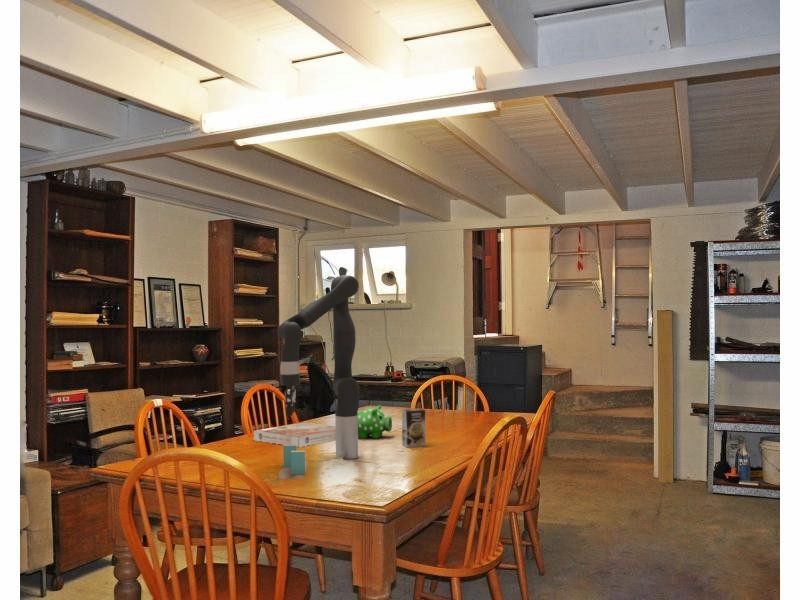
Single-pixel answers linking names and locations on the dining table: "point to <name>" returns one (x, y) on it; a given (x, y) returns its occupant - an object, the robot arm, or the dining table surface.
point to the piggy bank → (373, 423)
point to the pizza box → (297, 434)
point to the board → (289, 473)
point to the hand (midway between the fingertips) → (290, 414)
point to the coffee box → (413, 427)
